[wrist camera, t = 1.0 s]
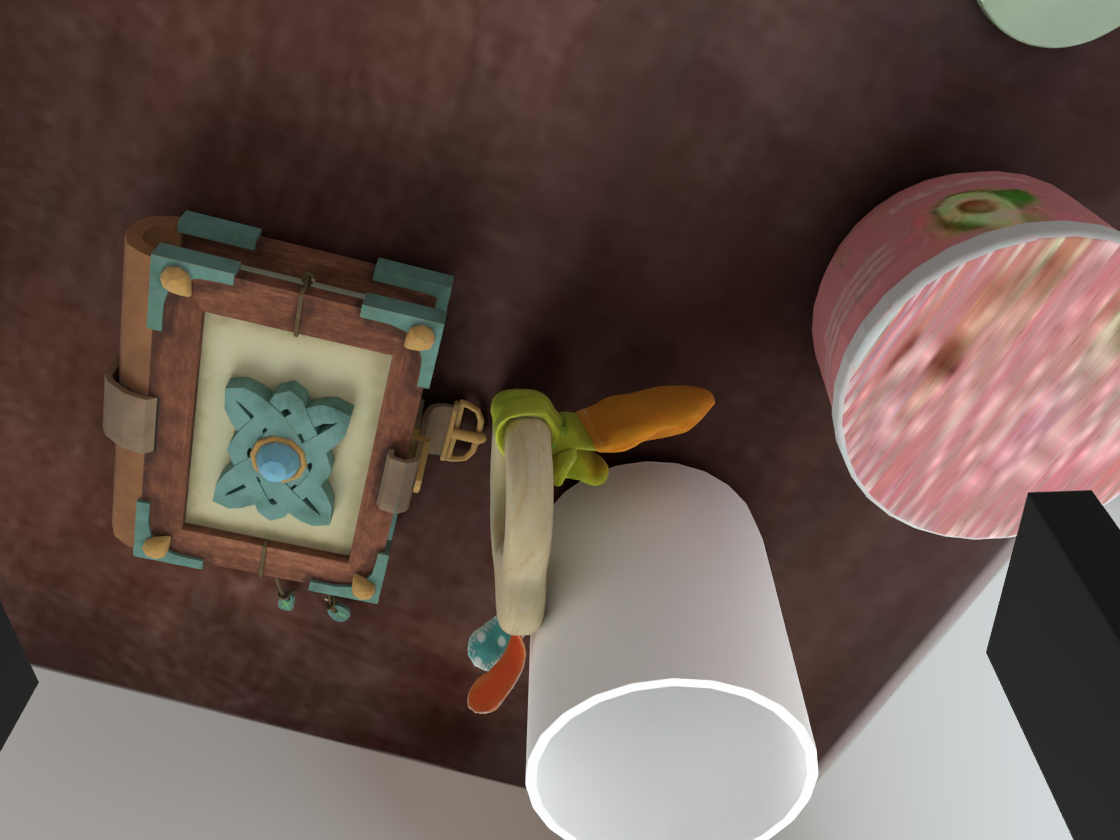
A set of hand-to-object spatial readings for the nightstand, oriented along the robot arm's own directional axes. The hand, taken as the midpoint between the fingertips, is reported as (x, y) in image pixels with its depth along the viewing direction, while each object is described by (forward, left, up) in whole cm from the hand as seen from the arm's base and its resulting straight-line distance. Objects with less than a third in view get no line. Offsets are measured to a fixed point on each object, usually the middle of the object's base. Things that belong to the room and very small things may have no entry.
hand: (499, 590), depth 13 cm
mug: (+16, +12, -23) cm, 31 cm away
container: (+1, +16, -23) cm, 28 cm away
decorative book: (+16, -3, -23) cm, 29 cm away
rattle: (+9, +5, -22) cm, 25 cm away
